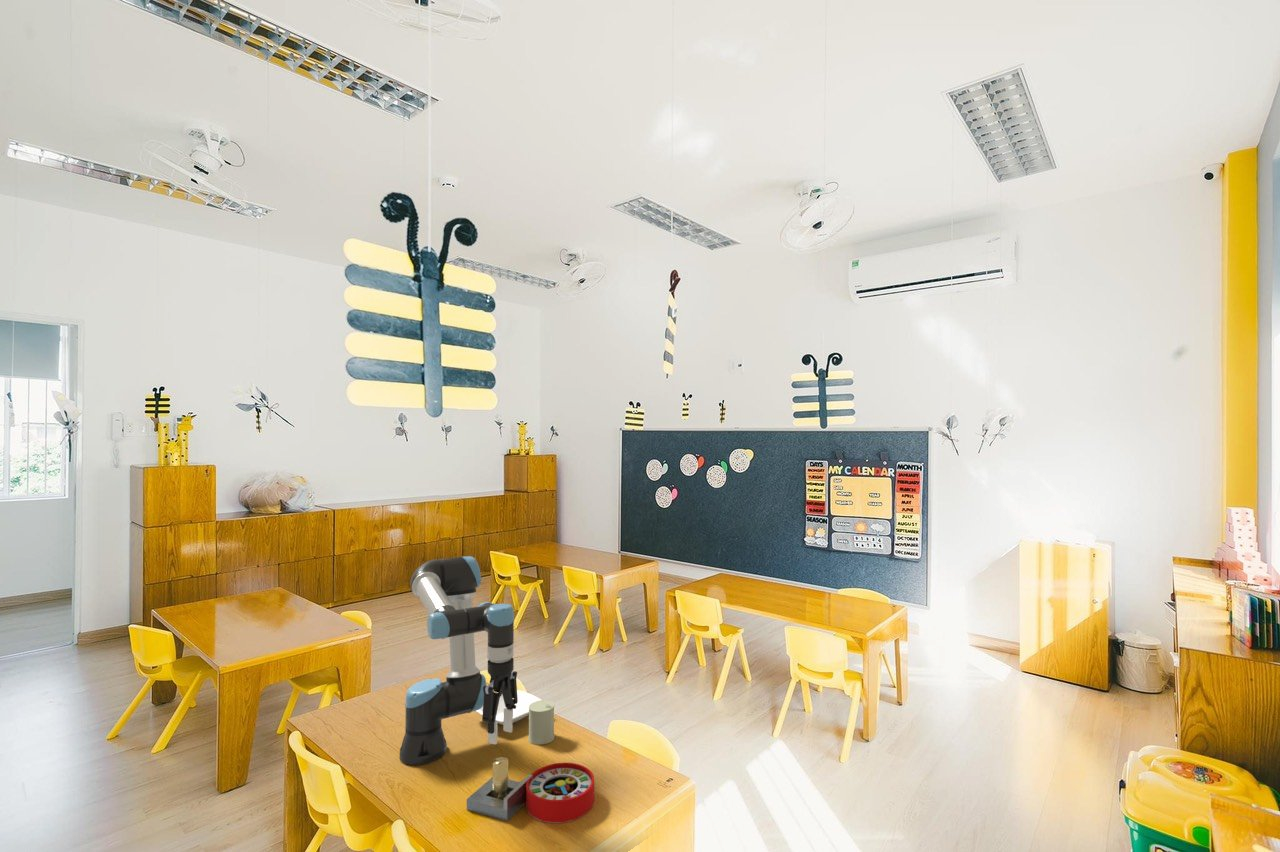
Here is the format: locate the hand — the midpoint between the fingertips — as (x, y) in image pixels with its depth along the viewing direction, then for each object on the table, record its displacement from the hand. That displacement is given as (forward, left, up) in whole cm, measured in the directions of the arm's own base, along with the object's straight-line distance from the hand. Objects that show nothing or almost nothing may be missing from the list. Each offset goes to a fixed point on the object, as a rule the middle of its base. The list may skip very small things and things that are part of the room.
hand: (500, 736), depth 173 cm
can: (-9, +37, -19) cm, 43 cm away
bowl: (-29, +45, -19) cm, 57 cm away
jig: (0, 0, -19) cm, 19 cm away
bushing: (0, 0, -19) cm, 19 cm away
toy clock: (+16, +7, -19) cm, 26 cm away
